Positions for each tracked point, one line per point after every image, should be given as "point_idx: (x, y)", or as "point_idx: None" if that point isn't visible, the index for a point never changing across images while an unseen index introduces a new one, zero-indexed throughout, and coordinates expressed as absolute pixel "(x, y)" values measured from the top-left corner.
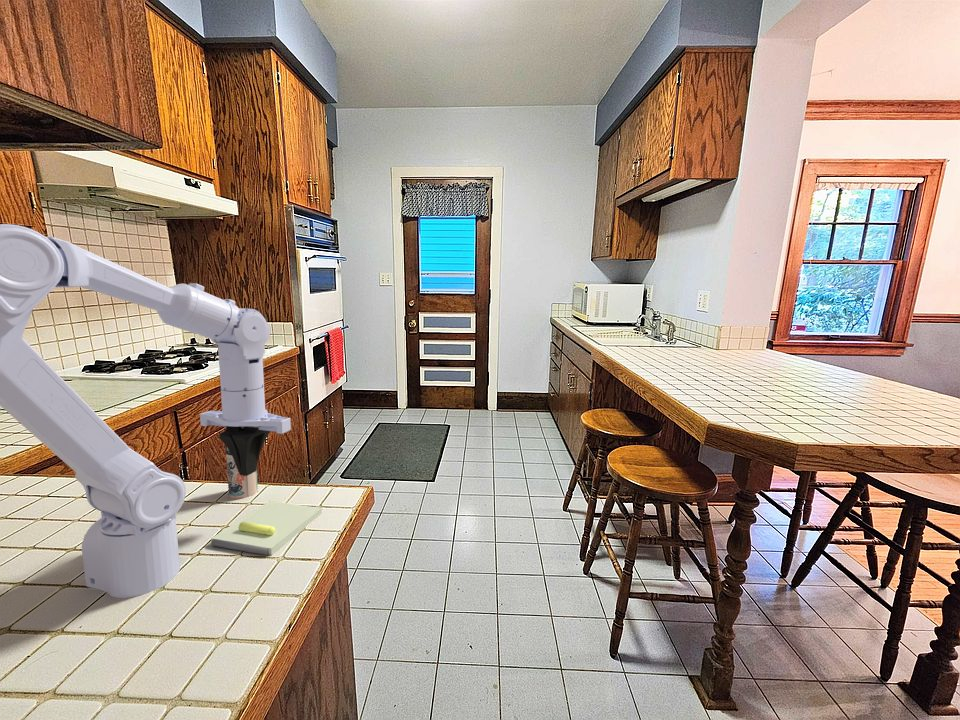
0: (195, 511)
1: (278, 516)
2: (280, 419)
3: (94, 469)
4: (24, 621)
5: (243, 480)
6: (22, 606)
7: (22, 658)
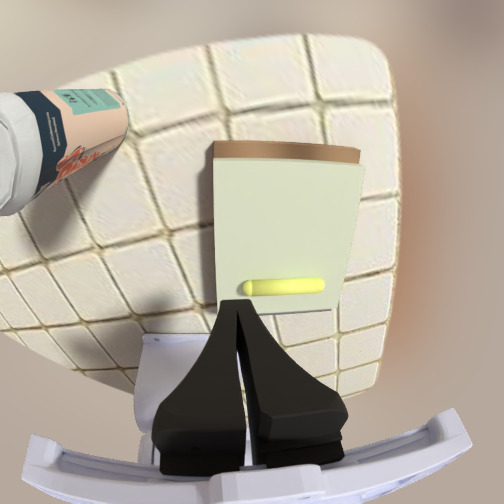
0: (61, 206)
1: (289, 222)
2: (440, 467)
3: None
4: None
5: (99, 153)
6: (124, 387)
7: None
